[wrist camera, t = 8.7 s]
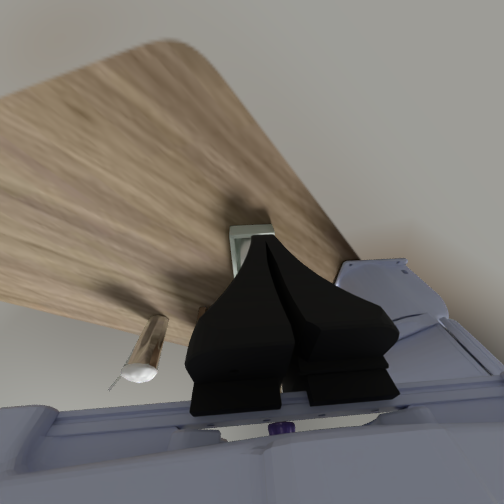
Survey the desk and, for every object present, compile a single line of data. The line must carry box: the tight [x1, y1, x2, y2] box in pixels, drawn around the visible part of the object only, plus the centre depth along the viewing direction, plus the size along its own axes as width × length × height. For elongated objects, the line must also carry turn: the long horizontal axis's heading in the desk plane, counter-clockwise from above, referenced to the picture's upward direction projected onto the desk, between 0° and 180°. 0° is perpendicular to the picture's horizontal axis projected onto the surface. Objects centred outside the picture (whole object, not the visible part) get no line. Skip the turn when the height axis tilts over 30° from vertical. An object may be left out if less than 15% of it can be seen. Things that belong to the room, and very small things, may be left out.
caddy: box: [229, 224, 275, 278], centre depth 22 cm, size 5×12×7 cm, turn 1°
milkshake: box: [108, 315, 169, 391], centre depth 27 cm, size 4×5×10 cm
